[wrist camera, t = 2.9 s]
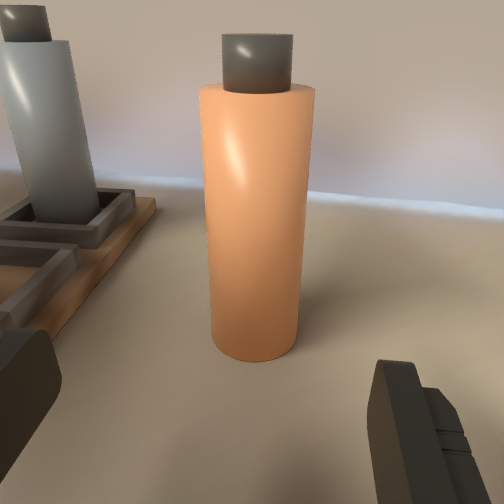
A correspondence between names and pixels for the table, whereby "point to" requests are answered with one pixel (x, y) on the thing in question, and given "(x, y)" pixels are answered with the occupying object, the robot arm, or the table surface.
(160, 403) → the table surface
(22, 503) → the table surface
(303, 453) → the table surface
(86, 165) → the grey bottle
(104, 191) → the wooden bottle rack
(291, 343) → the orange bottle
